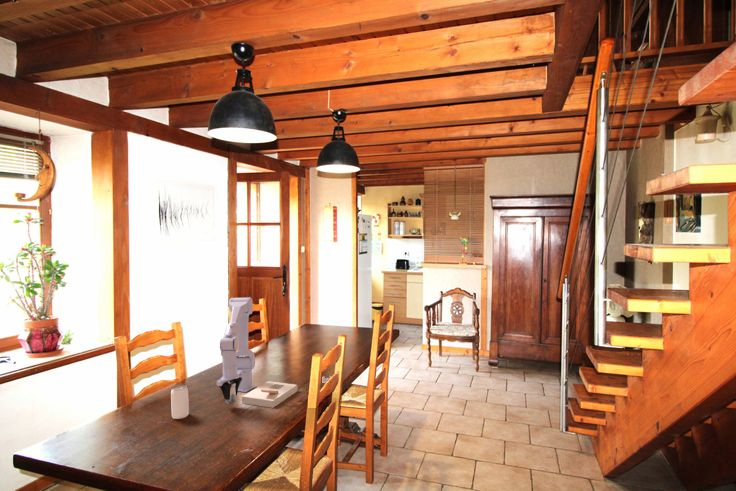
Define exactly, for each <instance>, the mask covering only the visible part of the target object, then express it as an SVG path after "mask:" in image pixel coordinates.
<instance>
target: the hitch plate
mask: <svg viewBox="0 0 736 491" xmlns="http://www.w3.org/2000/svg"><path fill="white" fill-rule="evenodd" d="M261 390H273V391H278V393H267V392H261ZM297 392H298V384H294V383H285V382H278V381H277V382H276V381H270V380H269V381H268V380H267V381H265V382H264V383H262V384H261V385H259V386H258V387H257V386H256V387H255V388H253V389H251V391H250V390H249V391H248V392H246V393H245V394H243V395H242V396H241V404H244V405H251V406H258V407H266V408H272V409H274V408H275V407H277V406H278V405H279V404H281V403H282V402H284V401H285V400H287V399H288V398H290V397H291V396H293V395H294V394H296V393H297Z"/></svg>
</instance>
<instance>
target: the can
mask: <svg viewBox="0 0 736 491" xmlns="http://www.w3.org/2000/svg"><path fill="white" fill-rule="evenodd" d="M170 403H171V404H170V405H171V408H170V409H171V417H172V419H174V420H181V419H185V418H188V416H189V413H190V410H189V409H190V407H189V406H190V405H189V404H190V403H189V389H188V386H187V385H186V384H177V385H175V386H173V387H171V391H170Z"/></svg>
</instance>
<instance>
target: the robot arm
mask: <svg viewBox="0 0 736 491" xmlns="http://www.w3.org/2000/svg"><path fill="white" fill-rule="evenodd" d="M253 303H254V302H253V298H252V297H251V296H249V297H231V298H230V299H229V302H228V308H229V311H230V313H231V315H230V321H229V323H228V324H226V328H225V330H224V335H223V337H222V338H221V339H220V342H219V350H220V356H222V357H221V360H222V376H221V377H220V378H219V379H218V380H216V386H217V387H219V389H220V391H221V392H222V396H223V398H224V400H225V401H226V400H229V399H230V389H231V385H232V384H229V383H228V382H236V385H235V392H236V396H237V395H238V392H244V393H248V392H250V390H251V391H252V390H254V389H255V388H257V385H256V384H255V385H254V384H253V372H252V371H253V370H254V369H255V367H256V366H255V365H256V356H255V352H253V351H252V350H251V349H249V317H250V315H252V314H253V306H254V305H253Z"/></svg>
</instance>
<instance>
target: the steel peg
mask: <svg viewBox="0 0 736 491" xmlns="http://www.w3.org/2000/svg"><path fill="white" fill-rule="evenodd" d="M228 383H229V384H232V385H231V389H230V399H229V400H226V399H225V404H227V405H231V404H235V403H236V402H237V401H236V400H237V399H236V398H237V397H236V396H237V395H236V392H235V385H236V382H230V381H228Z"/></svg>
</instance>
